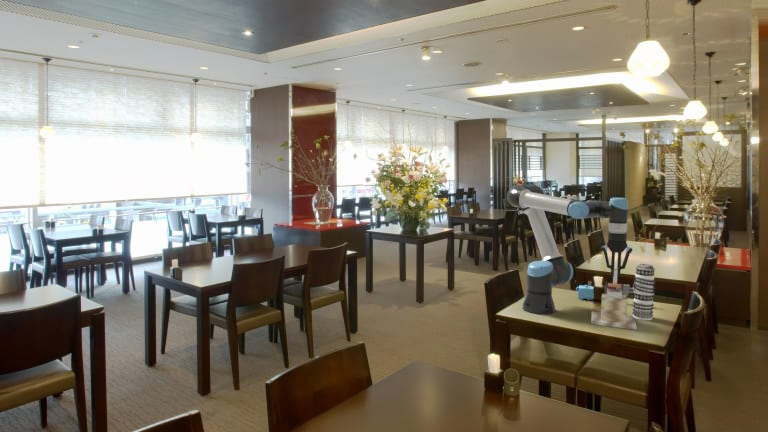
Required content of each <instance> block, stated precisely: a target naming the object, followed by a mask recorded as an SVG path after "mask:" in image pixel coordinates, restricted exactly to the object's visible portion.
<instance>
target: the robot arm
mask: <svg viewBox="0 0 768 432" xmlns="http://www.w3.org/2000/svg"><path fill="white" fill-rule="evenodd" d="M506 200H507V201H508V203H509V204H510V205H511V206H512V207H514V208H519V209H522V213H523V214H525V215H526V216H527V218H528V221H529V224H530V227H531V229H532V231H533V235H534V238H535V241H536V244H537V247H538V249H539V253H540V255H541V259H540V260H535V261H532V262H530V263H529V264H527V271H526V273H527V274H526V275H527V276H526V277H527V281H526V282H527V283H526V294H525V297H524V300H523V302H522V310H524V311H525V312H528V313H532V314H537V315H539V314H540V315H541V314H542V315H547V314H553V313H554V312H556V305H555V302H554V299H553V296H552V295H553V294H552V292H553V287H556V286H562V285H563V286H564V285H565V284H567V283H569V282H570V281H572V279H573V275H574V268H573V265H572V264H571V263H570V262H569V261H567V260H565V256H564V255H563V254H561V253H560V252H559V248H558V247H557V243H556V241H555V238H554V234H553V232H552V229H551V226H550V224H549V221H548V218H547V215H546V213H545V211H546V212H550V213H554V214H555V213H556V214H559V215H563V216H564V215H565V216H569V217H571V218H572V219H575V220H576V219H577V220H582V219H583V220H584V219H592V218H604V219H608V231H609V232H608V237H607V242H606V244H605V245H602V246H601V250H602V252H603V254H604V260H605V264H606V268H608V269H610V276H611V277H612V284H618V278H619V277H621V270H625V269H626V266H627V263H628V261H629V256H630V254H631V253H632V251H633V248H632V247H630V246H628V243H627V238H628V237H627V236H628V233H627V232H628V216H629V200H628V199H627V198H626V197H610V199H609V201H602V200H595V199H593V200H592V199H591V200H589V199H588V200H587V201H582V200H575V199H570V198H564V197H560V196H559V197H558V196H553V195H550V194H549V195H548V194H547V193H546V191H545V189H544V188H543V186H541V185H538V184H515V185H513V186H511V188H509V190H508V191H507V194H506ZM608 249H609V250H610V252H611V259H610V260H611V261H609V256H608V252H607V250H608ZM624 251H626V253H625V254H624V255H625V256H624V258H623V262H622V253H623V252H624ZM616 253H617V266H616V267H617V268H615V263H616V262H615V261H616V260H615V258H616Z"/></svg>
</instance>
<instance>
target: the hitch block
mask: <svg viewBox="0 0 768 432" xmlns="http://www.w3.org/2000/svg"><path fill="white" fill-rule="evenodd" d="M608 283H609V282H605V283H604V293H601V303H600V304H601V305H600V307H601V308H600V311H591V314H590V315H591V316H590V318H591V325H595V326H604V327H612V328H620V329H629V330H637V323H636V320H635V319H636V318H634V316H632V315H627V313H628V312H627V309H628V297H627V298H626V296H625V295H623V284H624V283H620V284H621V288H620V289H621V290H622V299H614V298H607V288H608V287H609V286H608Z"/></svg>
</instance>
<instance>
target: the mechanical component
mask: <svg viewBox="0 0 768 432" xmlns="http://www.w3.org/2000/svg"><path fill="white" fill-rule="evenodd" d="M619 284H620V285H621V284H623V295H625V296H626V298H627V299H628V296H629V294H635V293H634V289H635V288H634V287H633V286H632V287H631V286H630V284H626V283H625V284H624V283H619ZM635 287H636V286H635ZM614 289H619V290H621V288H619V287H614Z"/></svg>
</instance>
